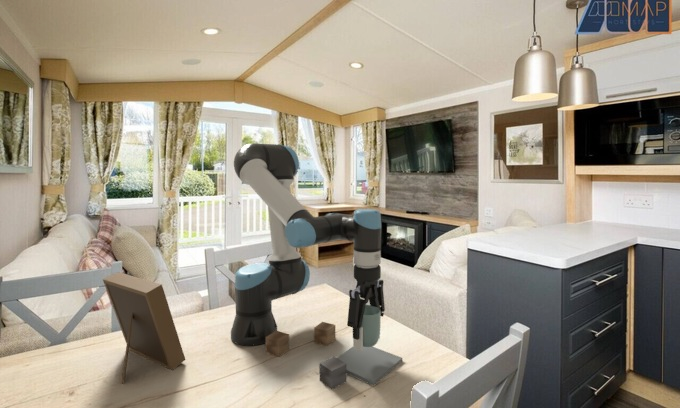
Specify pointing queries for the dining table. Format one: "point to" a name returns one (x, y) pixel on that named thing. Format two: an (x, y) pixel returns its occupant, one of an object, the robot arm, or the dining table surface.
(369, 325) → the cup
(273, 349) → the walnut block near
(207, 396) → the dining table surface
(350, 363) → the slate board
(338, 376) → the charcoal block front
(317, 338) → the walnut block left
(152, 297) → the photo frame
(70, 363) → the dining table surface
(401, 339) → the dining table surface
